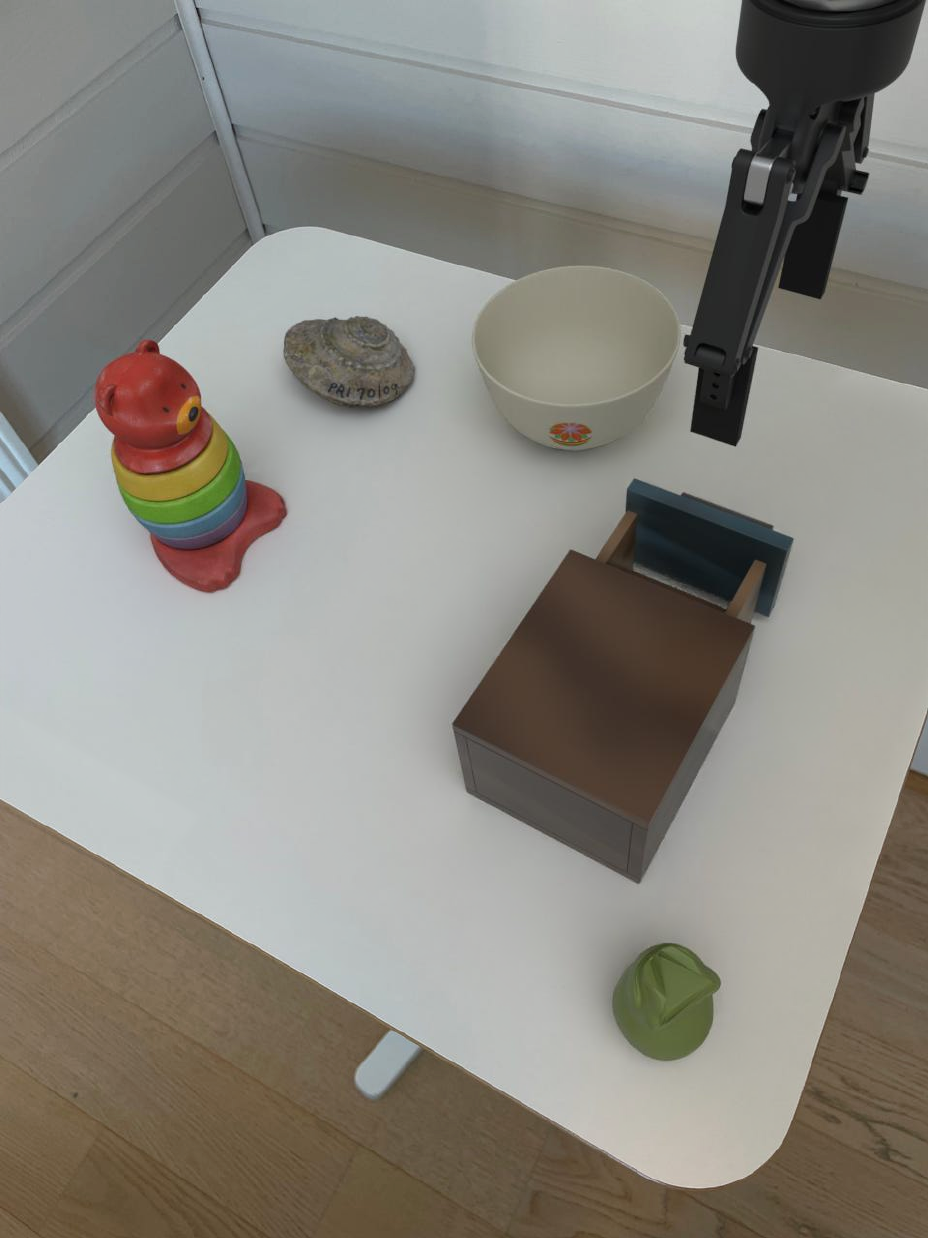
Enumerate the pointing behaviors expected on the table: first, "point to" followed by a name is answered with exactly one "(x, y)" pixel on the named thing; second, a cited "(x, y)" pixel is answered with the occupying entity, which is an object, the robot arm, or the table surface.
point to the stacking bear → (181, 470)
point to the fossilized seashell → (348, 360)
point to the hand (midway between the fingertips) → (760, 359)
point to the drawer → (700, 549)
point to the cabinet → (602, 711)
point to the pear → (666, 1002)
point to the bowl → (576, 353)
